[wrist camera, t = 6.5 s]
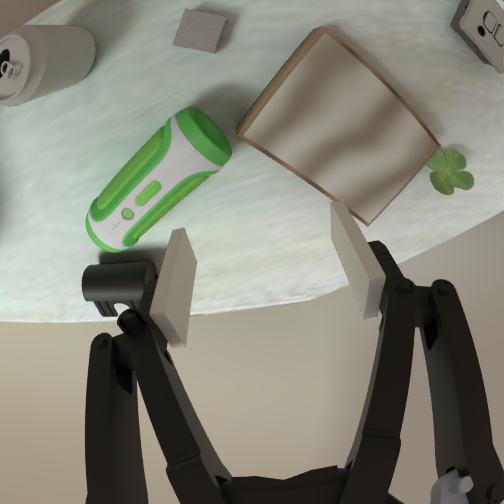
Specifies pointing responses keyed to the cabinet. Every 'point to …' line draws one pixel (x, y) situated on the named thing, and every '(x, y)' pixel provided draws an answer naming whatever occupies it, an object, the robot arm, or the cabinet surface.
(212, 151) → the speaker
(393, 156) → the stand
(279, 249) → the cabinet surface
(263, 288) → the cabinet surface
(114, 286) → the end cap
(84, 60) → the can
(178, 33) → the grey square block
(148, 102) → the cabinet surface
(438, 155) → the seedling
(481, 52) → the electrical switch
